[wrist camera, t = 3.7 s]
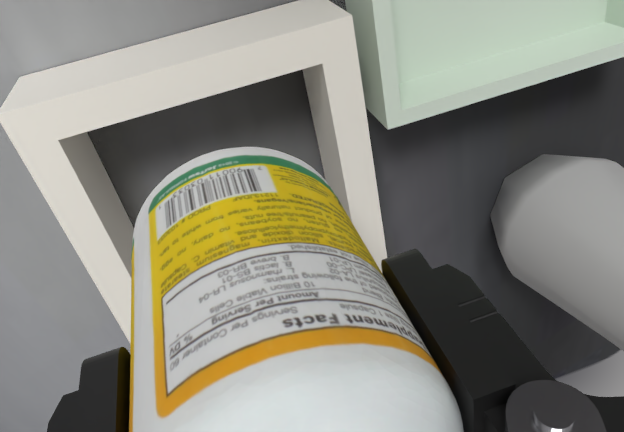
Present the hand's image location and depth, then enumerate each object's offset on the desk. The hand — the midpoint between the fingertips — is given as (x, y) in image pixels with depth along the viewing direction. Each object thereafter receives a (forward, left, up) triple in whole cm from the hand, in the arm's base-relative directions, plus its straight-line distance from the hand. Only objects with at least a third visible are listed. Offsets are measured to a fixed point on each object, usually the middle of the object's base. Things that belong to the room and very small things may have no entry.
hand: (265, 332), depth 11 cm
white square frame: (0, 0, -9) cm, 8 cm away
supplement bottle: (0, 0, -4) cm, 4 cm away
